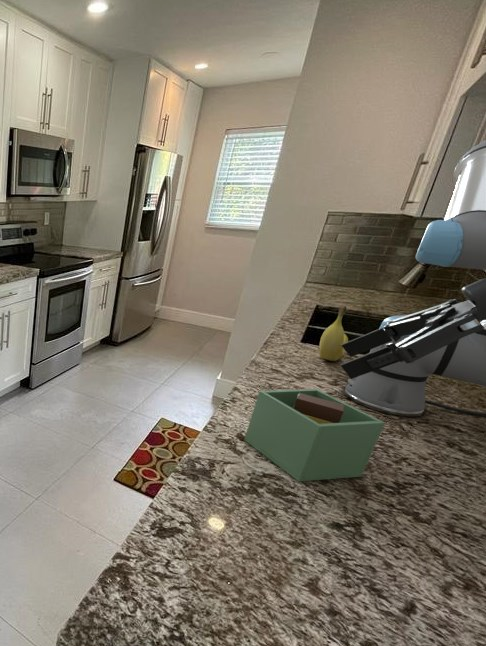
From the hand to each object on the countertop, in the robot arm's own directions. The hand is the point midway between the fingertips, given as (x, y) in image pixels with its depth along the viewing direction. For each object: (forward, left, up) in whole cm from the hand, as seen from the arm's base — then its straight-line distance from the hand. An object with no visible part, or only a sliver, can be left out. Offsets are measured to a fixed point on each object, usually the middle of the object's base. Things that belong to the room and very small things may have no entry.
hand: (345, 360), depth 75 cm
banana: (-57, -49, -22) cm, 78 cm away
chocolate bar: (+1, -1, -21) cm, 21 cm away
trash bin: (+1, -1, -22) cm, 22 cm away
